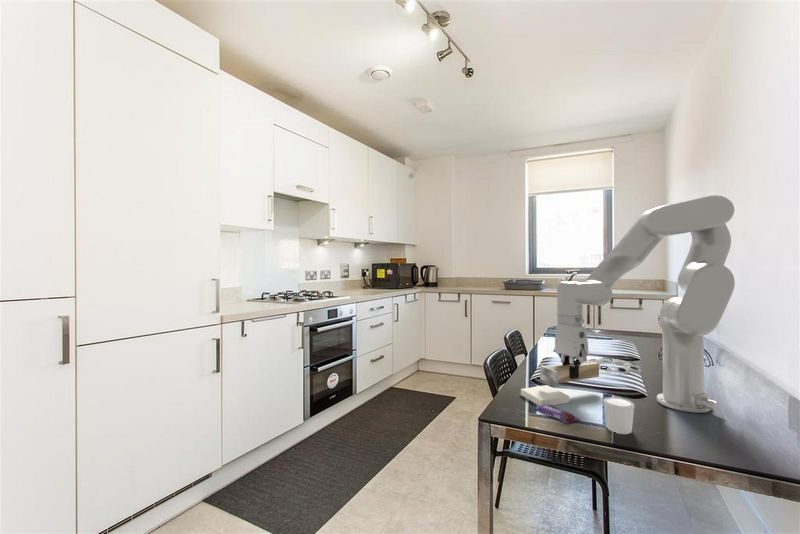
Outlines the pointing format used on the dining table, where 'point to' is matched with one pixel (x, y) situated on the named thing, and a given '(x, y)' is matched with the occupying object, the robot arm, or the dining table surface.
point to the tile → (544, 395)
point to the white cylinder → (618, 414)
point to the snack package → (558, 413)
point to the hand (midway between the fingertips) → (570, 376)
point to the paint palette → (626, 365)
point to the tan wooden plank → (568, 373)
